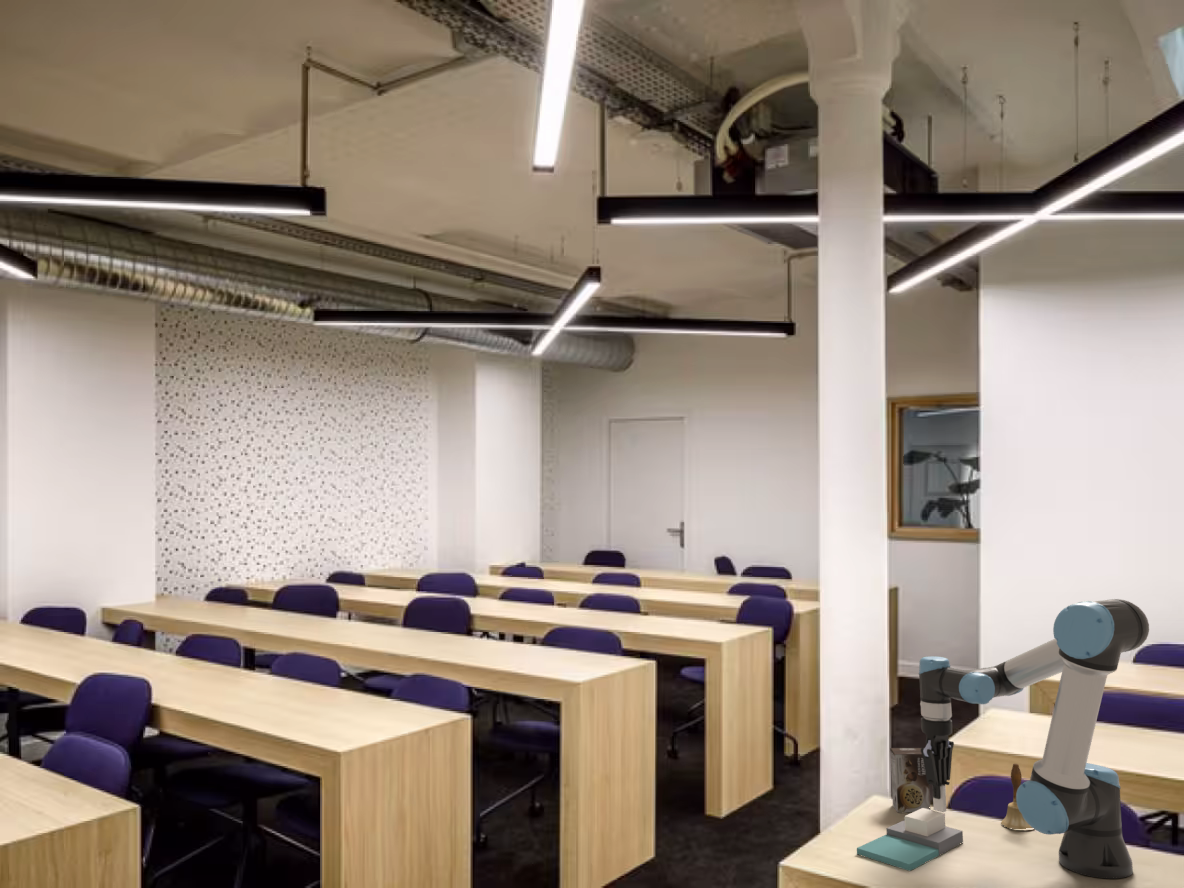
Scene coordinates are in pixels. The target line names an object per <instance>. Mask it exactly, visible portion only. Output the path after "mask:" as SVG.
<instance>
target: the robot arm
mask: <svg viewBox="0 0 1184 888" xmlns="http://www.w3.org/2000/svg"><path fill="white" fill-rule="evenodd" d="M1052 630H1053V633H1052V634H1053V638H1054V639H1051V640H1048V641H1047V642H1044V643H1042V644H1040V645H1039V646H1036V647H1034V648H1032V649H1029V650H1027V651H1025V652H1023V653H1021V654H1019V655H1016V656H1014V657H1012V658H1010V659H1008V660H1006V661H1003V662H1001V663H999V664H996V665H995V666H991V667H982V668H976V669H975V668H974V669H968V670H967V669H966V670H965V669H958V668H953V667H951V664H950V663H951V662H950V660H949V658H947V657H943V656H935V655H934V656H931V655H930V656H924V657H922V658H920V659H919V665H918V666H919V667H918V668H919V669H918V675H919V690H920V692H919V693H920V696H919V698H920V703H919V705H920V714H921V715H920V716H922V717H921V718H920V726H921V731H922V733H923V734H925V735H926V739H925V747H920V748H921V753H922V756H923V760H924V766H925V772H926V778H927V783H928V784H929V785H931V786H932V799H933V801H932V802H933V804H932V806H933V811H937V812H941V813H946V812H947V794H946V793H947V792H946V786H949V785H951V784H950V782H951V781H950V780H951V773H952V760H953V758H952V757H953V749H954V746H955V743H954V741H951V740H950V739H949V736H950V735H952V734H953V720H952V719H951V718H952V717H953V713H952V712H953V711H952V699H954V700H957V701H962V702H966V703H969V704H974V705H975V704H977V705H986V704H989V703H990V702H991V701H992V700H993V698H999V697H1006V696H1007V697H1009V696H1013V695H1016V694H1020V693H1021V692H1022V691H1023V690H1024V688H1027V687H1029V686H1032V685H1034V684H1037V683H1039V682H1042V681H1043V680H1046V679H1049V678H1051V677H1054V676H1056V675H1058V674H1061V676H1060V678H1059V679H1060V680H1059V685H1058V689H1057V693H1056V698H1055V701H1054V706H1053V711H1052V714H1051V715H1052V716H1051V719H1050V720H1051V721H1050V724H1049V729H1048V733H1047V738H1046V743H1045V747H1044V749H1043V750H1044V752H1043V755H1042V759H1038V760H1036V761H1035V762H1033V765H1032V770H1031V773H1030V778H1029V780H1026V781H1024V782H1023V783H1021V785H1020V786H1019V788H1018V790H1017V793H1016V801H1017V806H1018V809H1019V811H1020V812H1021V813H1022V816H1023V818H1024V820H1025V821H1026V822H1027V823H1028V824H1029V825H1030V826H1031V827H1032V828H1034V830H1035V831H1037V832H1039V833H1040V834H1043V835H1056V834H1057V835H1061V834H1063V836H1062V839H1061V843H1060V845H1059V848H1058V862H1059V864H1060V865H1061V866H1063V868H1065V869H1067V870H1069V871H1072V872H1074V873H1077V874H1079V875H1083V876H1086V877H1087V876H1088V877H1093V878H1097V879H1110V880H1112V879H1113V880H1114V879H1115V880H1116V879H1123V878H1128V877H1130V876H1132V874H1134V873H1133V871H1134V869H1133V868H1134V867H1133V860H1132V857H1131V855H1130V852H1129V850H1128V847H1127V845H1126V843H1125V840H1124V837H1123V828H1122V827H1123V826H1122V807H1121V803H1122V802H1121V785H1120V778H1119V774H1118V773H1117V772H1116V770H1113V769H1112V768H1109V767H1106V766H1103V765H1100V764H1099V765H1098V764H1094V763H1089V762H1088V759H1089V758H1088V757H1089V754H1090V751H1091V746H1092V740H1093V736H1094V734H1095V733H1094V732H1095V728H1096V724H1097V719H1098V717H1099V711H1100V708H1101V707H1100V706H1101V703H1102V700H1103V699H1102V698H1103V695H1104V691H1105V685H1106V683H1107V682H1106V681H1107V678H1108V675H1110V674H1113V673H1115V672H1117V670H1118V667H1119V662H1120V659H1121V654H1122V653H1127V652H1131V651H1134V650H1136V649H1138V648H1140V647H1141V646H1142V645H1143V644H1144V643H1146V640H1147V639H1148V637H1149V634H1150V624H1149V620H1148V618H1147V616H1146V614H1145V612H1144V611H1143V610H1142V609H1141V608H1140V607H1139V606H1138V605H1137V604H1134V603H1133V602H1131V601H1129V600H1124V599H1120V598H1114V599H1113V598H1112V599H1107V600H1105V599H1104V600H1095V601H1093V600H1092V601H1091V600H1087V601H1085V600H1084V601H1079V602H1077V603H1072V604H1070V605H1068V606H1066V607H1064V608H1063V609H1062V610H1060V612H1059V613H1058V614H1057V615H1056V617H1055V620H1054V623H1053V629H1052Z"/></svg>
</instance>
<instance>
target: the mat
mask: <svg viewBox="0 0 1184 888" xmlns="http://www.w3.org/2000/svg"><path fill="white" fill-rule="evenodd" d="M858 854H859V855H858ZM856 855H858V856H861V855H862V856H861V857H864V856H865V857H864V858H867V857H868V859H870V858H871V859H870V860H873V859H874V860H873V861H877V862H880V861H881V862H880V863H883V862H884V863H883V864H886V863H887V864H886V865H889V864H890V866H893V867H896V868H899V869H903V870H905V871H909V872H910V871H912V870H914V869H916V868H918V867H921V866H922V865H924V864H926V863H928V862H930V861H932V860H933V859H936V858H937V857H939V856H940V855H939V850H938V849H935V848H932V847H928V846H925V845H921V844H918V843H914V842H911V841H907V840H904V839H901V838H897V837H894V836H890V835H887V833H886V834H885V835H882V836H880V837H877V838H876V839H873V840H871V841H868V842H867V843H865V844H863V845H860V846H858V847H856ZM935 857H936V858H935ZM929 860H930V861H929ZM927 861H928V862H927ZM925 862H926V863H925Z"/></svg>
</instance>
